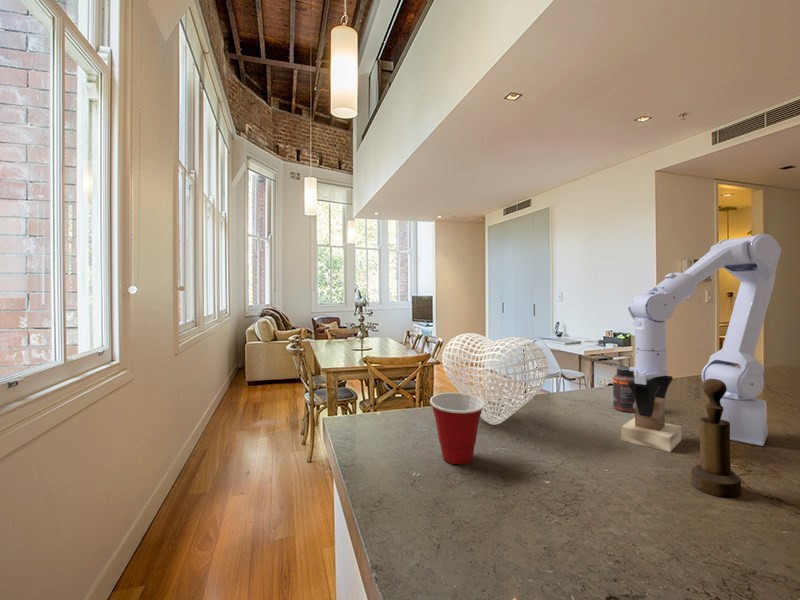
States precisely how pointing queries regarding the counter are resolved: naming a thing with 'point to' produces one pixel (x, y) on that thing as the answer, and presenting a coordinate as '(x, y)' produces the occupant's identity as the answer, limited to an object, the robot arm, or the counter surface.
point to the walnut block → (656, 419)
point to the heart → (490, 346)
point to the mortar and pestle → (715, 448)
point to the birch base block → (652, 436)
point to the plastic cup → (457, 424)
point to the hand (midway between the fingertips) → (651, 411)
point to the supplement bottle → (623, 390)
